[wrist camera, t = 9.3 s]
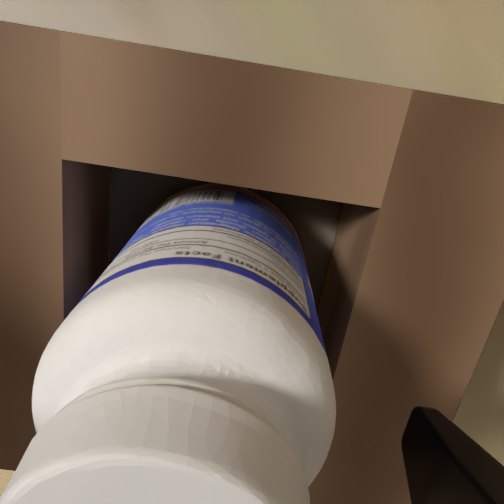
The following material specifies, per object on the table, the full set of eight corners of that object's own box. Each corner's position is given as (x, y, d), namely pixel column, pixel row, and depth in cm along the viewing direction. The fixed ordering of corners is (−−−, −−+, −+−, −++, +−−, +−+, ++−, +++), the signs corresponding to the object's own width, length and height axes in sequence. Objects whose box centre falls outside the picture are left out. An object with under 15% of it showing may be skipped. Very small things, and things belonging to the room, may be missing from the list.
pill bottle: (260, 355, 16) (261, 743, 7) (113, 298, 15) (-111, 650, 6) (334, 221, 14) (473, 514, 5) (169, 147, 13) (-36, 331, 4)
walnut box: (496, 103, 12) (581, 117, 9) (382, 433, 17) (410, 519, 14) (-20, 17, 12) (-126, -1, 8) (7, 383, 16) (-55, 462, 13)
